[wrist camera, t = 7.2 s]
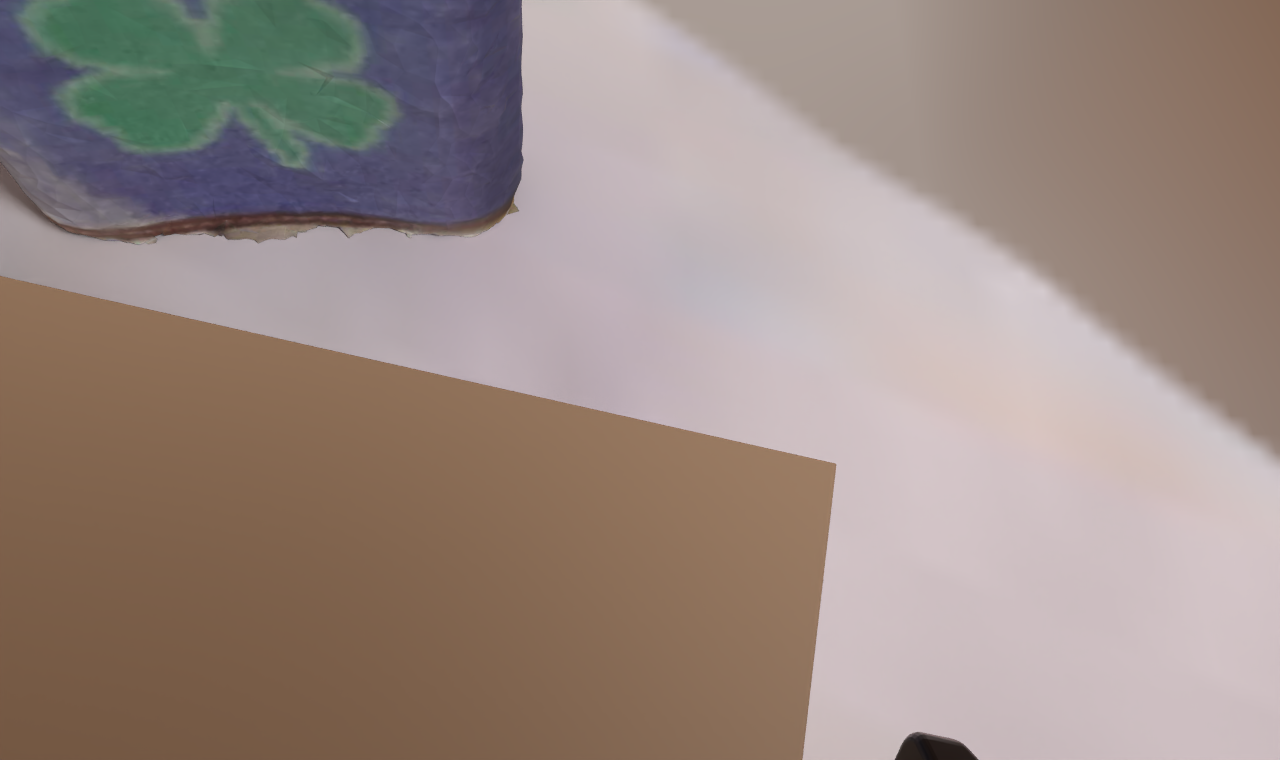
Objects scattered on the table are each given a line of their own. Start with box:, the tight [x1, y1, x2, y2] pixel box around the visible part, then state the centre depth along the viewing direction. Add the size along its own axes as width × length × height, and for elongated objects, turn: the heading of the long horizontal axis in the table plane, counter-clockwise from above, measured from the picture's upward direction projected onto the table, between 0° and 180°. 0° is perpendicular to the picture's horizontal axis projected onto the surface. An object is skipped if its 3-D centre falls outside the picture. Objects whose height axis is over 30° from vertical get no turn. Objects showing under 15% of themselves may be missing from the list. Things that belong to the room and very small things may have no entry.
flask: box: [0, 0, 523, 245], centre depth 14 cm, size 9×3×11 cm, turn 95°
